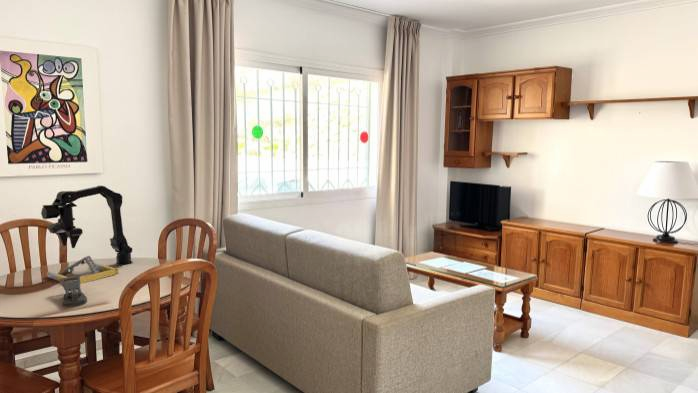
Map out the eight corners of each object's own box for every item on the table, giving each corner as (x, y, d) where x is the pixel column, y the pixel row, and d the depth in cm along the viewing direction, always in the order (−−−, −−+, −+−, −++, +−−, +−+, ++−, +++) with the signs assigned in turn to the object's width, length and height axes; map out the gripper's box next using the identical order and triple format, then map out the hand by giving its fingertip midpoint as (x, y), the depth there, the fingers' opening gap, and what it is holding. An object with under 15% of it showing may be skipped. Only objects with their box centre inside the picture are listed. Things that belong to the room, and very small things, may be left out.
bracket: (88, 277, 244) (77, 260, 243) (65, 290, 245) (54, 274, 245) (100, 271, 255) (89, 255, 254) (77, 284, 256) (67, 268, 255)
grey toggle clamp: (81, 275, 224) (86, 289, 203) (82, 289, 225) (88, 304, 204) (58, 278, 219) (62, 292, 198) (59, 292, 220) (63, 308, 199)
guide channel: (93, 266, 263) (93, 262, 263) (118, 274, 249) (118, 269, 249) (47, 276, 245) (47, 272, 244) (71, 285, 230) (71, 280, 230)
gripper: (40, 217, 243) (43, 247, 244) (57, 220, 232) (60, 252, 234) (64, 214, 252) (66, 243, 253) (81, 217, 241) (84, 248, 243)
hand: (68, 247), depth 246 cm, fingers open, 9 cm apart
